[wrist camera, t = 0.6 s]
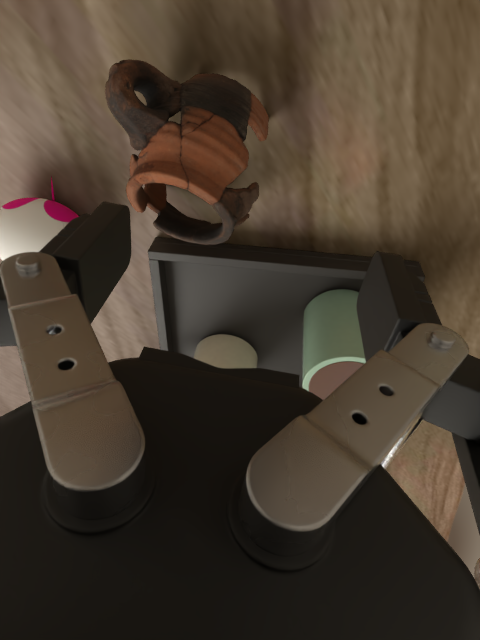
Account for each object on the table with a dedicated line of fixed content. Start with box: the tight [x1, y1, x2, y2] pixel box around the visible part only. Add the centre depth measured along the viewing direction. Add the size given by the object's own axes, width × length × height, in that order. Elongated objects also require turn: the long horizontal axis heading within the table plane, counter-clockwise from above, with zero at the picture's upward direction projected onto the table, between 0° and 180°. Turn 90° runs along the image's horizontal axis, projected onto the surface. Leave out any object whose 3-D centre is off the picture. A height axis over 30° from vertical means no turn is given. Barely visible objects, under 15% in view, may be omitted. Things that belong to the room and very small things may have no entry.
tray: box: [148, 237, 425, 388], centre depth 38 cm, size 18×22×2 cm
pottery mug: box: [105, 60, 269, 245], centre depth 27 cm, size 12×10×8 cm
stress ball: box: [0, 177, 79, 260], centre depth 33 cm, size 8×8×7 cm
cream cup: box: [193, 334, 258, 368], centre depth 38 cm, size 9×6×8 cm
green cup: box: [302, 289, 366, 400], centre depth 33 cm, size 9×6×8 cm
